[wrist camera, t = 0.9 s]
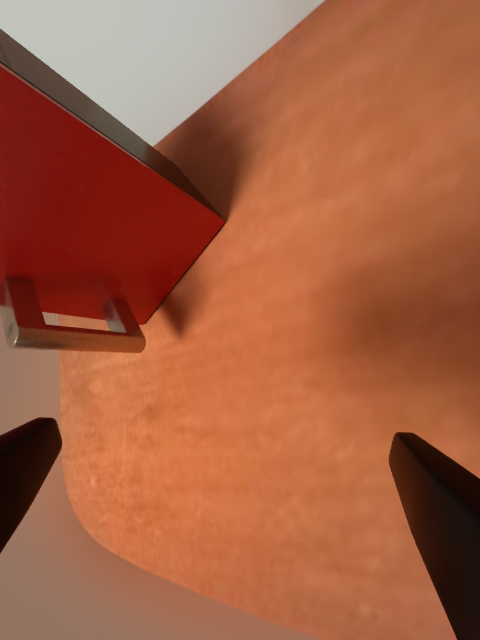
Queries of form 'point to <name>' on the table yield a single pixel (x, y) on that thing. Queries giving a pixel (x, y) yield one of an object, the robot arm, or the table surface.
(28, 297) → the door
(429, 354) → the table surface
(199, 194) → the black cabinet
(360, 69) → the table surface
